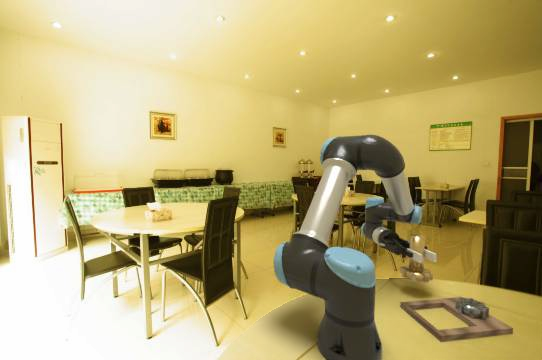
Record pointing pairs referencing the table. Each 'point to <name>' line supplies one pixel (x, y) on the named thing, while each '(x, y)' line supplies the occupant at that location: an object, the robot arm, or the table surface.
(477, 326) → the plate
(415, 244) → the planet gear
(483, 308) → the sun gear
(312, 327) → the table surface
